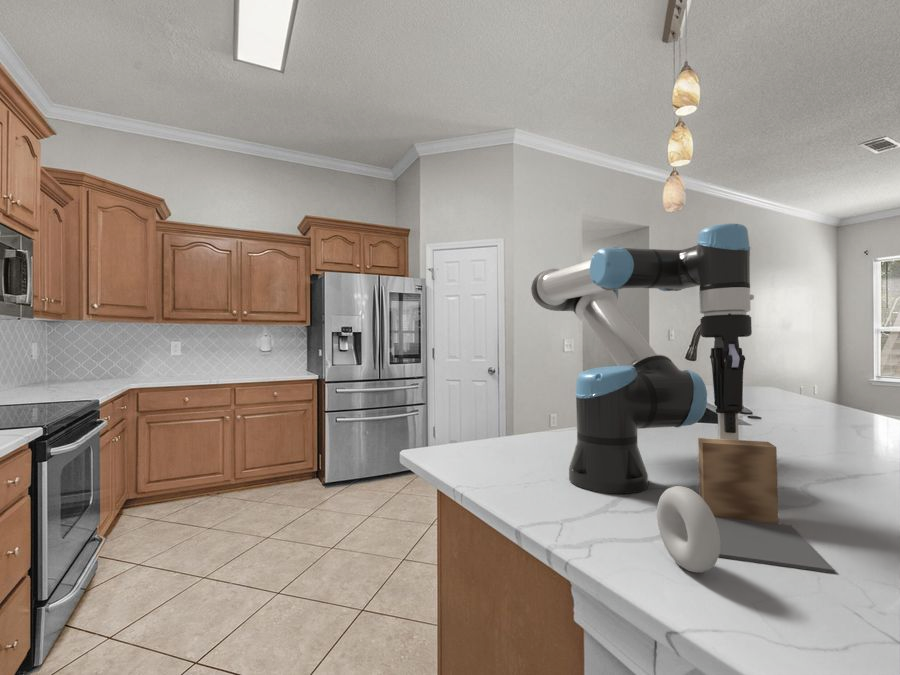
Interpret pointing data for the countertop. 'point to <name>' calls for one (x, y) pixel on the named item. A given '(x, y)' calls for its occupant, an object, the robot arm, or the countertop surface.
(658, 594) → the countertop surface
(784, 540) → the mat
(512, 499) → the countertop surface
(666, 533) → the donut
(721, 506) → the slab
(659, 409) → the robot arm
